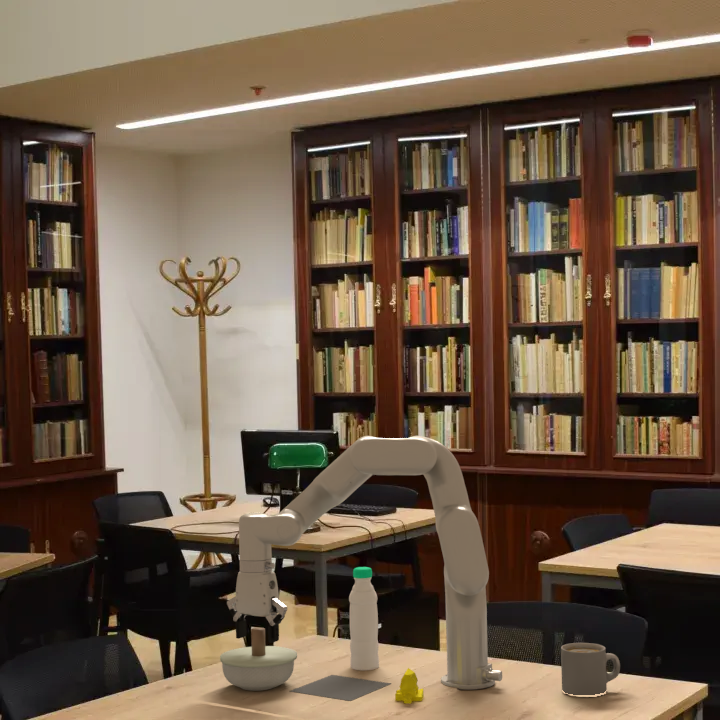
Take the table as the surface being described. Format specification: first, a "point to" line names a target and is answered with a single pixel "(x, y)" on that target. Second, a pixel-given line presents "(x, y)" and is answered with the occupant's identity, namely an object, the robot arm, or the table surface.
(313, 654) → the table surface
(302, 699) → the table surface
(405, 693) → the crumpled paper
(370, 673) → the table surface
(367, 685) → the mat
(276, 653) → the lid
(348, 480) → the robot arm
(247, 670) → the cereal bowl
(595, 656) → the coffee mug
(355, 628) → the water bottle
